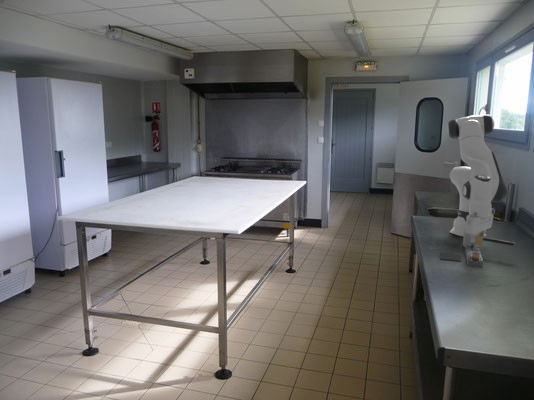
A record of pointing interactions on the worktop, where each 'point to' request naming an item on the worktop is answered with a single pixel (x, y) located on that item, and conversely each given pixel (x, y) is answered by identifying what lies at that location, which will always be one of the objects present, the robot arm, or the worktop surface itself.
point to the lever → (498, 241)
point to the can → (467, 240)
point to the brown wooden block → (478, 239)
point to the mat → (450, 257)
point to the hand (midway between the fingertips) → (477, 240)
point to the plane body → (473, 256)
